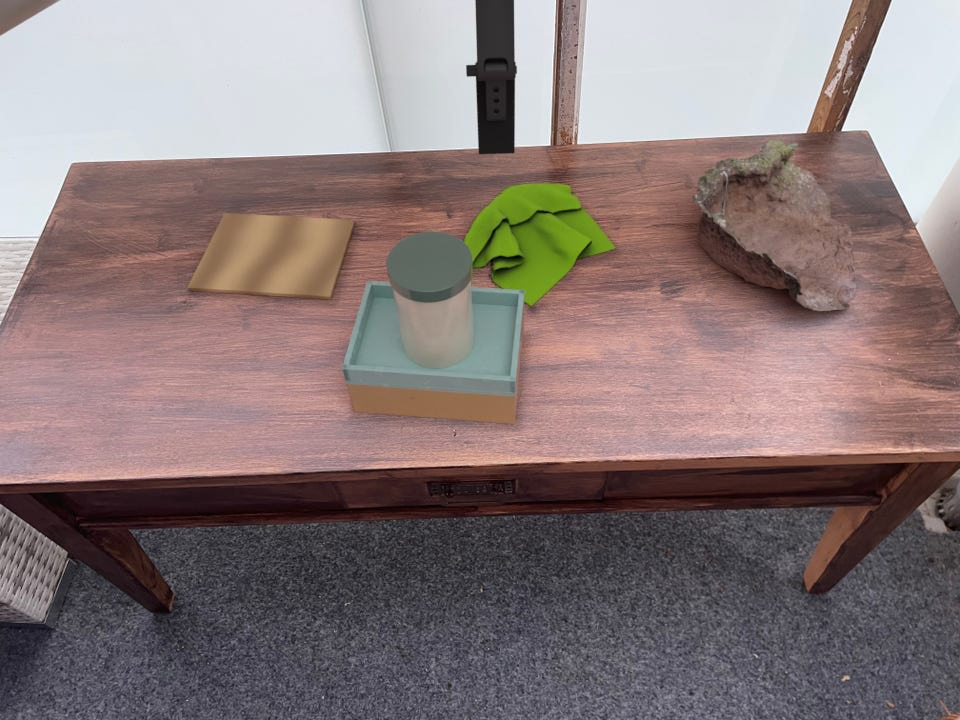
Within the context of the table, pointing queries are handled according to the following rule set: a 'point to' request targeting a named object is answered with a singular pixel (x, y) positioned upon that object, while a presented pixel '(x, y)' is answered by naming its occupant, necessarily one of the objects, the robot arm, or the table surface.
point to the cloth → (534, 237)
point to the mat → (274, 256)
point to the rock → (776, 228)
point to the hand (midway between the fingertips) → (495, 104)
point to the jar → (433, 297)
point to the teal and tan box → (444, 391)
